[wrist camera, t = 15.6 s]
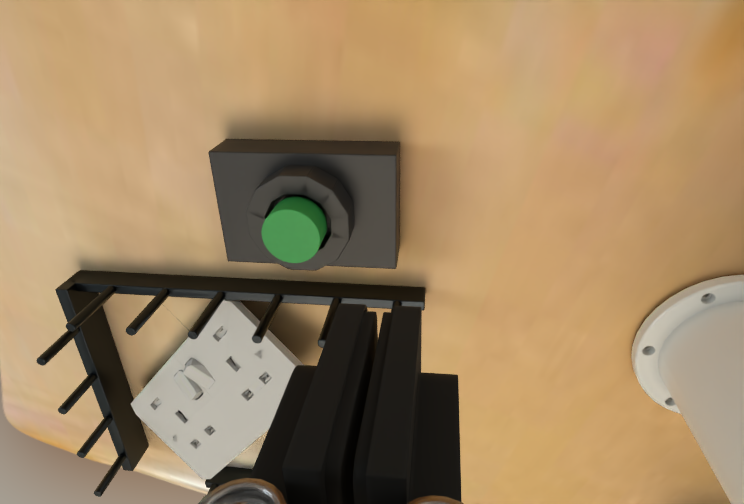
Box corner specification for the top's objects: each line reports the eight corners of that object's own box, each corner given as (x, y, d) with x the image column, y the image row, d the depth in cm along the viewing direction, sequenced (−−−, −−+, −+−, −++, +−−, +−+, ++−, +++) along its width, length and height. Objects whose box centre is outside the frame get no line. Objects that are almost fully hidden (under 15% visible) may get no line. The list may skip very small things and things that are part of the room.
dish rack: (425, 287, 38) (422, 345, 32) (417, 490, 49) (414, 562, 43) (79, 269, 41) (16, 319, 35) (146, 463, 52) (106, 527, 46)
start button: (325, 196, 30) (318, 210, 28) (329, 249, 32) (322, 265, 30) (268, 195, 31) (257, 208, 29) (274, 246, 32) (265, 262, 31)
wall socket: (249, 471, 49) (229, 504, 45) (120, 384, 49) (90, 410, 45) (341, 346, 41) (326, 373, 37) (189, 242, 41) (159, 260, 37)
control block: (400, 141, 33) (393, 165, 28) (399, 248, 36) (393, 284, 32) (225, 138, 34) (194, 161, 30) (242, 242, 38) (216, 276, 34)
